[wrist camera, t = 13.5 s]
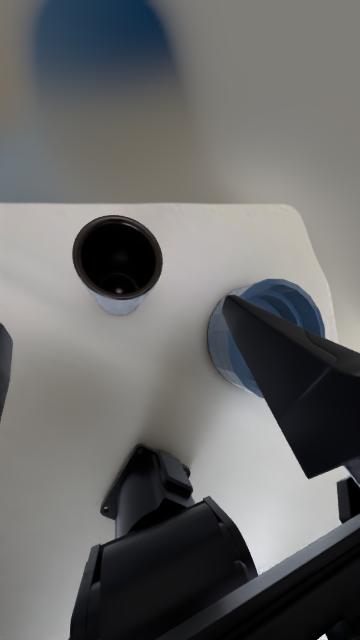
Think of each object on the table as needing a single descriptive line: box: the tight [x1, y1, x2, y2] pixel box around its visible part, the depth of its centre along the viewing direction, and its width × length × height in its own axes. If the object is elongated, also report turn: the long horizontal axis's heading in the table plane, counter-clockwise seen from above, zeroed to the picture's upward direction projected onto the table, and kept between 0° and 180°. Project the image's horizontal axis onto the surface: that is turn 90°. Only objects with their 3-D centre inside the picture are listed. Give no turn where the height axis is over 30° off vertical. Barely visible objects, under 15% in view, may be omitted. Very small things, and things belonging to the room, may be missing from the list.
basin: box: [208, 279, 325, 398], centre depth 23 cm, size 12×12×4 cm
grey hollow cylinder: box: [72, 215, 163, 315], centre depth 15 cm, size 4×4×10 cm
